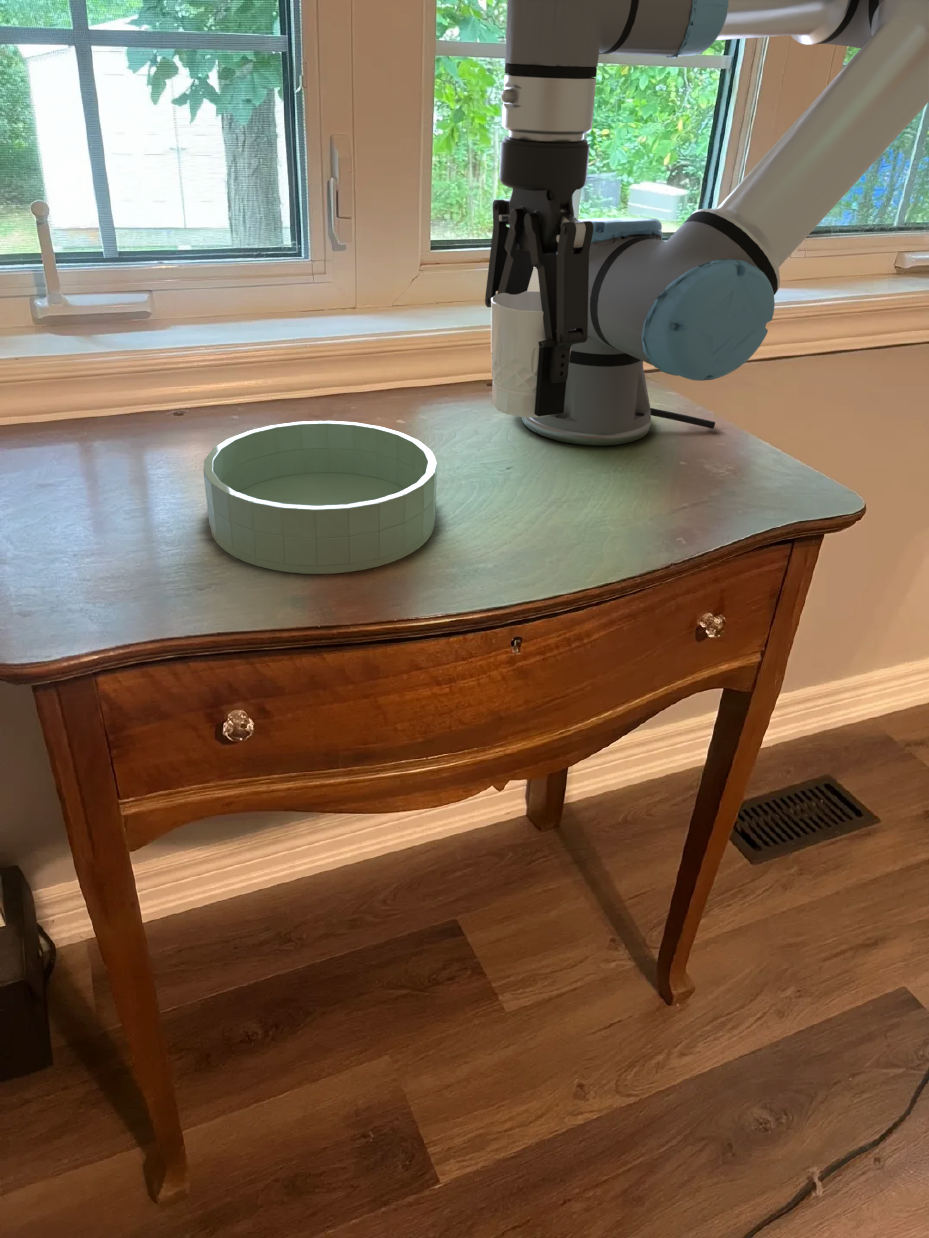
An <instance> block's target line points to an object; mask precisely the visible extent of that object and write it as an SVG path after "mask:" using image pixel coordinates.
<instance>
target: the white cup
mask: <svg viewBox="0 0 929 1238" xmlns="http://www.w3.org/2000/svg"><path fill="white" fill-rule="evenodd" d="M496 294H497V293H496ZM556 332H557V329H556ZM543 340H545V331H544V323H543V311H542V305H541V296H540V290H527V291H525V292H523V293H520V294H516V295H511V294H508V293H500V294H497V295H495V296H493V297H492V298H491V307H490V358H491V361H490V363H491V364H490V365H491V366H490V371H491V378H492V387H491V388H492V389H491V390H492V391H491V393H492V394H491V399H492V400H491V404H492V406H493V407H494V408H495V410H497V411H499V412H501V413H502V414H503V413H504V414H506V415H509V416H514V417H520V418H522V417H529V418H530V417H538V416H537V415H535V414H534V413H535V399H536V386H537V372H538V359H539V343H538V342H540V341H543ZM571 347H572V346H571ZM570 353H571V349H570ZM569 359H570V358H569ZM546 416H549V415H546ZM539 417H544V416H539Z"/></svg>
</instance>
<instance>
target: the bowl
mask: <svg viewBox="0 0 929 1238" xmlns="http://www.w3.org/2000/svg"><path fill="white" fill-rule="evenodd" d="M437 476H438V462H437V459H436V457H435V455H434V453H433V451H432V449H430V448H429V447H428V446H426V445H425V444H424V443H423V442H421V441H420V440H419V439H416V438H415V437H412V436H410V435H408V434H406V433H403V432H401V431H397V430H394V429H390V428H387V427H384V426H379V425H373V424H367V423H362V422H361V423H360V422H355V421H337V420H311V421H310V420H309V421H293V422H287V423H277V424H271V425H267V426H263V427H259V428H254V429H250V430H247V431H245V432H242V433H239V434H237V435H234V436H231V437H229V438H227V439H225V440H224V441H222V442H221V443H219V444H217V445H216V446H214V447H213V448H212V449H211V451H210V452H209V454H207V456H206V457H205V458H204V460H203V480H204V489H205V499H206V507H207V514H208V525H209V527H210V533H211V535H212V538H213V540H214V541H215V542H216V544H217V545H218V546H219V547H220V548H221V549H222V550H223V551H224V552H225V553H228V554H229V555H231V556H232V557H234V558H236V559H238V560H240V561H243V562H245V563H247V564H250V565H253V566H256V567H259V568H264V569H267V570H273V571H278V572H282V573H293V574H302V575H303V574H306V575H308V574H309V575H330V574H331V575H333V574H343V573H344V574H345V573H352V572H353V573H354V572H359V571H365V570H370V569H374V568H378V567H382V566H385V565H389V564H391V563H393V562H396V561H399V560H401V559H404V558H405V557H407V556H409V555H411V554H413V553H414V552H416V551H417V550H418V549H420V548H421V547H422V546H424V545H425V544H426V543H427V542H428V540H429V538H430V537H431V536H432V534H433V531H434V530H435V521H436V520H435V518H436V514H437V511H436V510H437V480H438V479H437V478H438V477H437Z"/></svg>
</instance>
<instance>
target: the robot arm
mask: <svg viewBox="0 0 929 1238" xmlns="http://www.w3.org/2000/svg"><path fill="white" fill-rule="evenodd" d="M505 24H506V26H505V48H504V49H505V51H504V83H503V90H501V92H500V99H501V102H503V104H502V121H501V122H502V123H501V124H502V125H501V126H502V127H503V128H504V130H505V131H508V135H507V136H503V139H502V140H500V151H499V170H498V171H499V172H498V179H499V182H500V183H501V184H502V185H503V186H505V187H507V188H511V189H512V190H511V194H510V198H503V199H502V198H501V199H494V200H493V201H492V226H493V227H492V234H491V241H490V242H491V243H490V250H489V251H490V253H489V261H488V270H487V277H486V288H485V296H484V304H485V306H486V308H491V298H492V297H493V296H495V295H497V294H500V293H508V294H511V295H516V294H520V293H523V292H525V291H528V289H529V286H530V282H531V278H532V276H533V272H534V268H535V269H536V271H537V279H538V284H539V285H538V286H539V291H540V296H541V305H542V311H543V323H544V331H545V340H543V341H540V342H538V343H539V359H538V372H537V386H536V399H535V413H534V414H535V415H537V416H538V417H530V418H529V417H521V421H522V423H523V424H524V425H525V427H526V428H528V429H529V430H530V431H532V432H533V433H536V434H538V435H539V436H542V437H545V438H547V439H551V440H554V441H558V442H563V443H568V444H573V445H584V446H616V445H623V444H628V443H631V442H635V441H638V440H640V439H641V438H643V437H645V436H646V435H647V434H648V433H649V431H650V426H651V419H652V416H653V417H657V418H662V419H668V420H672V421H675V422H676V421H678V422H680V423H681V422H682V423H686V424H690V425H695V426H698V427H703V428H707V429H712V430H713V429H715V426H716V421H712V420H709V419H705V418H700V417H696V416H691V415H687V414H681V413H677V412H672V411H669V410H664V409H659V408H654V407H651V402H650V399H649V392H648V387H647V380H646V374H645V369H644V363H646V364H649V365H650V366H653V368H655V369H658V370H659V371H661V372H662V373H665V374H667V375H671V376H675V377H681V378H683V379H684V378H685V379H687V380H691V381H696V382H697V381H699V382H702V381H704V382H705V381H713V380H716V379H719V378H722V377H725V376H727V375H729V374H731V373H732V372H733V373H734V371H736V370H738V369H739V368H740V367H742V366H743V365H744V364H745V363H747V362H748V361H749V359H751V358H752V357H753V355H755V353H756V352H757V351H758V349H759V348H760V347H761V345H762V343H763V342H764V340H765V338H766V336H767V334H768V332H769V330H768V328H766V326H767V324H768V323H770V322H772V321H773V317H774V314H775V295H776V294H777V292H778V291H779V289H780V286H781V278H780V277H781V276H780V267H781V266H782V265H783V264H784V263H785V261H786V260H788V258H789V257H790V256H791V255H792V254H793V253H794V252H795V251H796V249H797V248H798V247H799V246H800V245H801V244H802V243H803V242H804V241H805V240H806V239H807V237H808V236H809V235H810V234H811V233H812V232H813V231H814V230H815V228H816V227H817V226H818V225H819V224H820V223H821V222H822V221H823V220H824V219H825V217H826V216H827V215H828V214H829V213H830V212H831V211H832V210H833V208H835V207H836V205H837V204H838V203H839V202H840V201H841V200H842V199H843V197H845V196H846V194H847V193H848V192H850V190H851V189H852V188H853V186H854V185H855V184H856V183H857V182H858V181H859V180H860V178H862V176H864V174H866V172H867V171H868V170H869V169H870V168H871V166H873V164H874V163H875V162H876V161H877V160H878V159H879V157H881V155H882V154H883V153H884V152H885V151H886V150H887V149H888V148H889V147H890V145H892V144H893V142H894V141H895V140H896V139H897V138H898V137H899V136H900V134H901V133H903V131H905V129H906V128H907V127H908V126H909V124H910V123H911V122H912V121H913V120H914V119H915V118H916V117H917V116H918V115H919V113H920V112H921V111H922V110H923V109H924V108H926V106H927V105H928V103H929V0H507V1H506V23H505ZM786 36H790V37H791V38H792V39H793V40H794V41H795V42H797V43H799V44H800V45H801V44H802V45H806V46H809V45H810V46H811V45H833V46H840V47H841V46H842V47H849V48H856V49H859V50H858V51H857V52H856V54H855V55H854V56H853V57H852V58H851V59H850V60H849V61H848V62H847V63H846V65H844V67H843V68H841V70H840V71H839V72H838V74H836V76H835V77H834V78H833V79H832V80H831V81H830V82H829V83H828V84H827V86H826V87H824V88H823V90H822V92H821V93H819V95H818V96H817V97H816V98H815V99H814V100H813V101H812V102H811V104H809V106H808V107H807V108H806V109H804V111H803V112H802V113H801V114H800V115H799V116H798V118H797V119H796V120H795V121H794V122H793V123H792V124H791V126H790V127H788V129H787V130H786V131H785V132H784V134H782V136H781V137H780V138H779V139H778V140H777V141H776V143H775V144H773V146H771V148H770V149H769V150H768V151H767V152H766V153H765V155H763V157H762V158H761V159H760V160H759V161H758V162H757V163H756V165H754V167H753V168H752V169H751V170H750V171H749V172H748V174H747V175H745V177H744V178H743V179H742V180H741V181H740V182H739V183H738V184H737V186H735V188H734V189H733V190H732V191H731V192H730V193H729V195H728V196H726V198H725V199H724V200H723V201H722V203H721V204H719V206H718V207H716V208H700V209H699V208H698V209H696V210H695V211H693V212H692V213H691V214H690V215H689V216H688V217H687V219H686V220H684V222H682V224H681V225H680V226H679V227H678V228H677V230H676V231H675V232H674V233H673V234H672V235H671V236H670V237H669V238H668V239H667V240H666V241H665V240H662V239H663V235H664V232H663V231H662V230H663V228H662V222H661V221H660V220H659V219H657V218H650V217H648V218H647V217H604V218H602V217H600V218H580V219H578V218H576V217H575V210H574V203H573V201H574V200H573V198H574V197H573V195H574V193H575V192H576V191H577V190H581V189H583V188H585V186H586V184H587V182H588V172H589V171H588V170H589V160H590V159H589V158H590V148H591V145H590V144H589V141H588V140H586V139H584V138H585V135H586V134H589V133H590V132H591V131H592V130H593V121H594V110H595V98H596V85H597V73H598V65H599V56H600V55H626V56H640V57H641V56H642V57H643V56H644V57H666V58H668V59H669V58H670V59H673V60H674V59H678V57H695V56H698V55H700V54H702V53H704V52H705V51H707V50H708V49H709V48H711V46H712V45H713V44H714V43H715V42H716V41H724V40H741V39H755V38H769V37H786ZM556 329H557V332H556ZM571 346H572V347H571ZM570 349H571V353H570ZM569 358H570V359H569ZM546 415H549V416H546ZM539 416H544V417H539Z"/></svg>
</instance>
